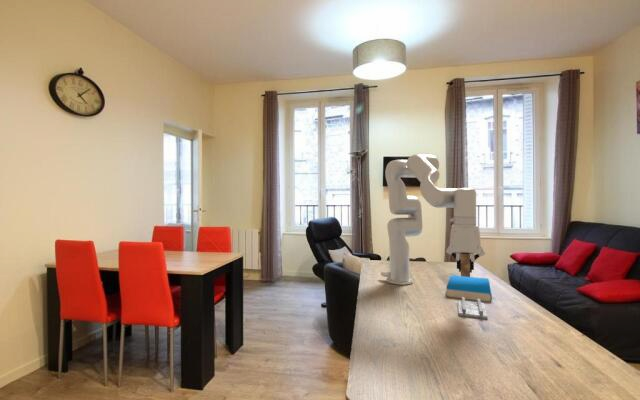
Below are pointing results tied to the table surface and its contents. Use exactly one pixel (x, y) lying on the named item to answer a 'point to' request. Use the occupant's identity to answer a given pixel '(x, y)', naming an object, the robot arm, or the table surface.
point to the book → (469, 288)
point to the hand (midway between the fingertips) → (465, 270)
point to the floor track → (472, 309)
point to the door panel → (465, 264)
